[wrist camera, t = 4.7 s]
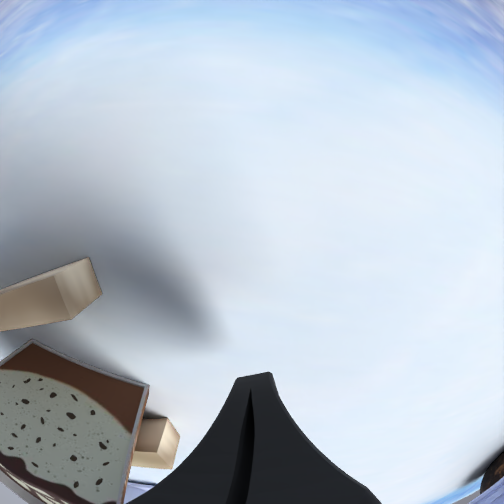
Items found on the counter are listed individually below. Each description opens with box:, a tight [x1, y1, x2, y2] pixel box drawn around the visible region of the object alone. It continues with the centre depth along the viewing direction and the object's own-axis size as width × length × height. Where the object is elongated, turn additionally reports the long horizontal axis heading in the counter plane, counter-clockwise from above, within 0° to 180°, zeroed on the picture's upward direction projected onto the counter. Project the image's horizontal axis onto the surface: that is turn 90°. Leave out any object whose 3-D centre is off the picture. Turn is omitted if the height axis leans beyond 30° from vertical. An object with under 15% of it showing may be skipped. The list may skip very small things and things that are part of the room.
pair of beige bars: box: [0, 257, 180, 469], centre depth 12 cm, size 13×14×3 cm
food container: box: [0, 339, 149, 504], centre depth 9 cm, size 12×6×10 cm, turn 79°
